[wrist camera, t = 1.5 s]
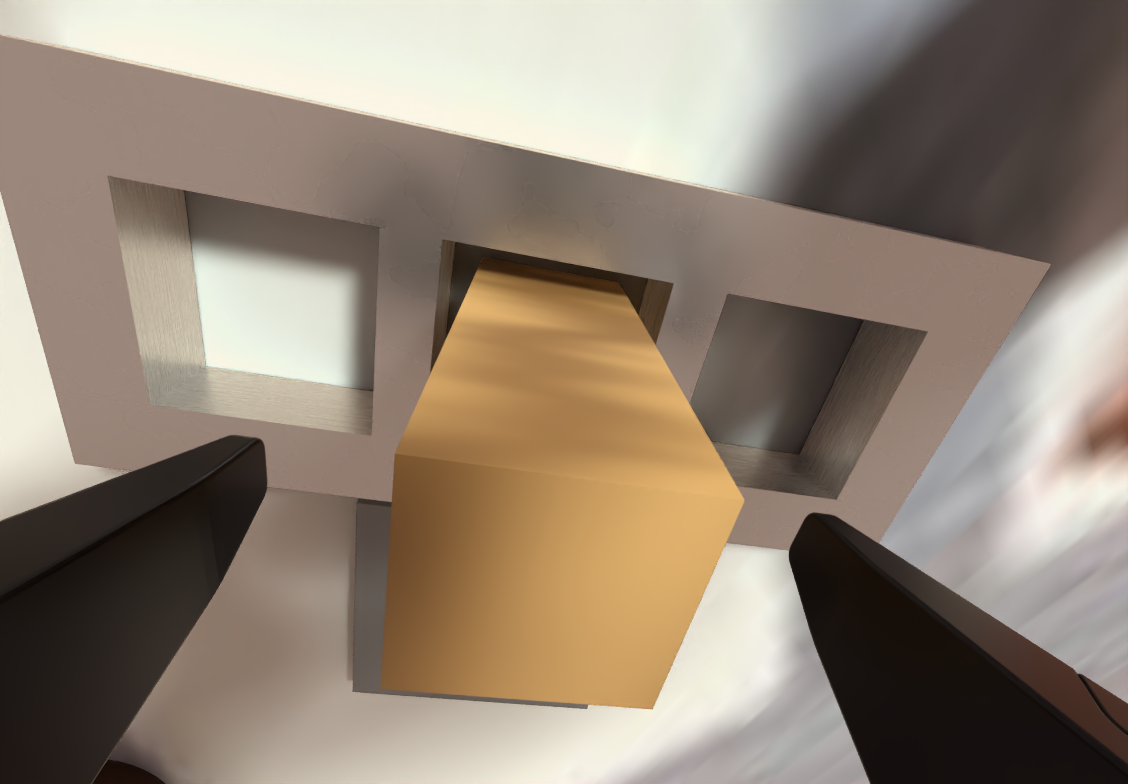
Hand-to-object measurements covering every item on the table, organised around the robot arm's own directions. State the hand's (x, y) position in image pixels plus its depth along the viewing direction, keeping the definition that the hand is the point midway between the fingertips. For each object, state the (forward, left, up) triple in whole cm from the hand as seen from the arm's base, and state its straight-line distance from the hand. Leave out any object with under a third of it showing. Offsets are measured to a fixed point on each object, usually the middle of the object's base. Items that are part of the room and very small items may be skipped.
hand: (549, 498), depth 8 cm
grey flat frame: (0, 0, -8) cm, 8 cm away
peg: (0, 0, -8) cm, 8 cm away
